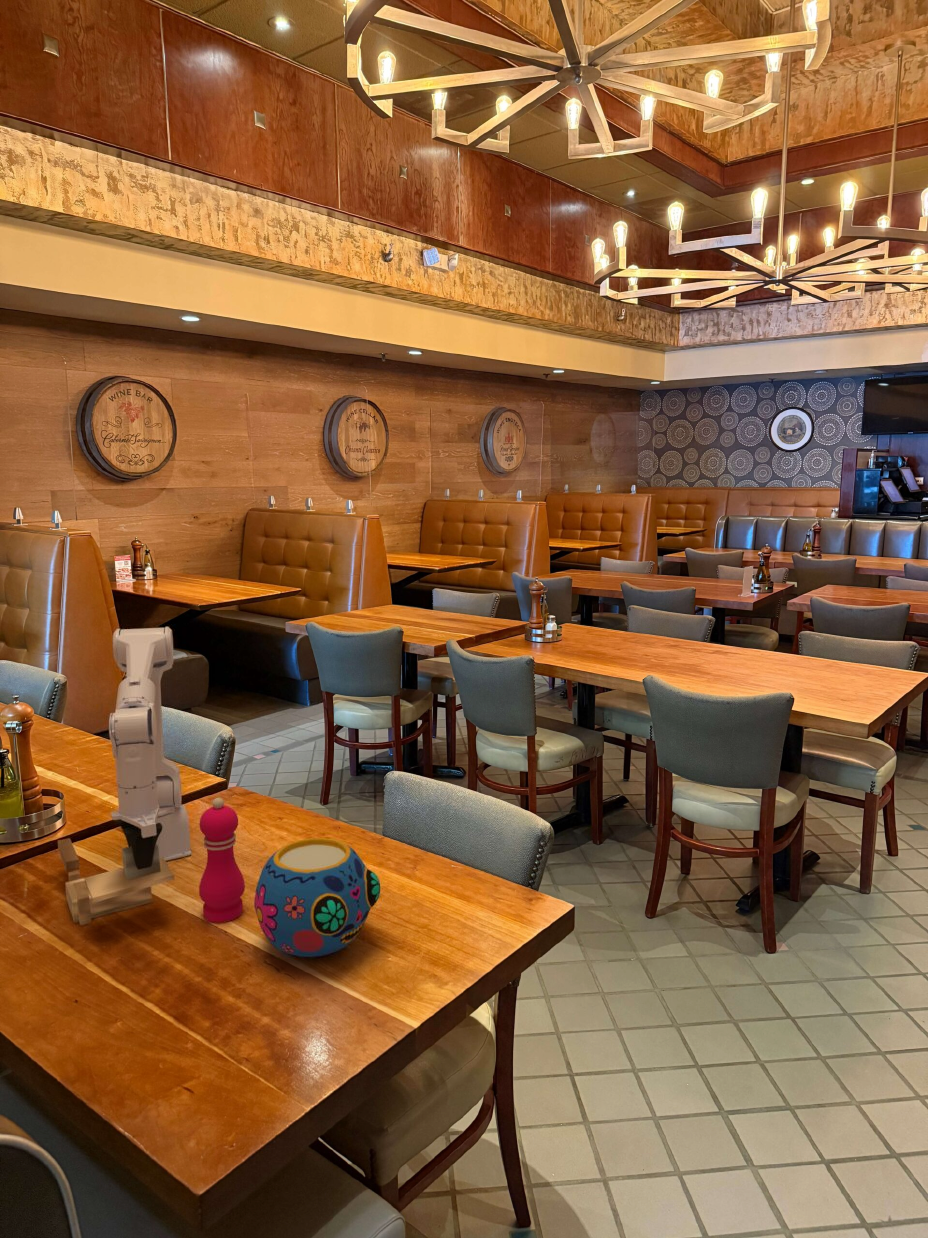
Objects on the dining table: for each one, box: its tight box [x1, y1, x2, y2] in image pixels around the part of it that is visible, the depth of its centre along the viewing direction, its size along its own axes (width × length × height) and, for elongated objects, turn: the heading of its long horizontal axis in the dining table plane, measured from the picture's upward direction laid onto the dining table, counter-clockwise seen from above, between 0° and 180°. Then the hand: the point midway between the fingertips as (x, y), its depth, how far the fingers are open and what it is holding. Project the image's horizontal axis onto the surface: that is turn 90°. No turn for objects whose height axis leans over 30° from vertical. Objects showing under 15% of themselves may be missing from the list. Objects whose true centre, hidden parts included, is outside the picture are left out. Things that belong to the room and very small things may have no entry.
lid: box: [83, 843, 176, 903], centre depth 128 cm, size 12×8×5 cm, turn 123°
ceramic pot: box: [253, 837, 381, 958], centre depth 123 cm, size 18×18×15 cm
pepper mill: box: [198, 797, 246, 924], centre depth 132 cm, size 7×7×20 cm
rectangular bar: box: [57, 838, 80, 873], centre depth 142 cm, size 2×10×2 cm, turn 33°
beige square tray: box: [64, 869, 153, 926], centre depth 136 cm, size 12×11×4 cm
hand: (142, 863), depth 129 cm, fingers closed on lid, 2 cm apart
